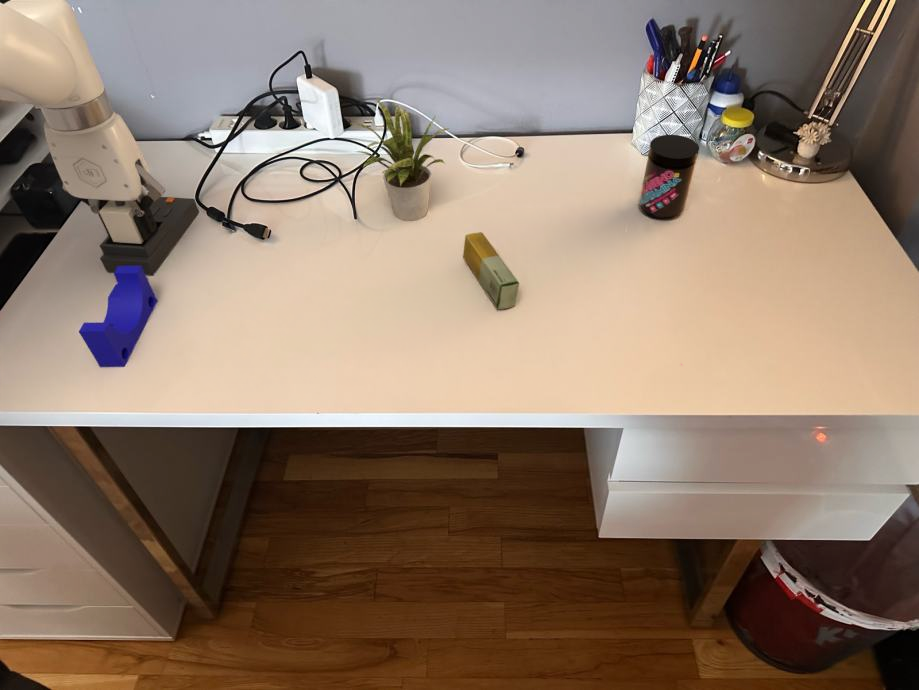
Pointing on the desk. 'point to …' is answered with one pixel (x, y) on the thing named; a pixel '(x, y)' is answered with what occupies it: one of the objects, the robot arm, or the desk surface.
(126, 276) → the blue curved cradle bracket
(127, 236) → the block
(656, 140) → the supplement container
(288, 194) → the desk surface
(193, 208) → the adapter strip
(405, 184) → the house plant
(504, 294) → the medication box
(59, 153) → the robot arm
